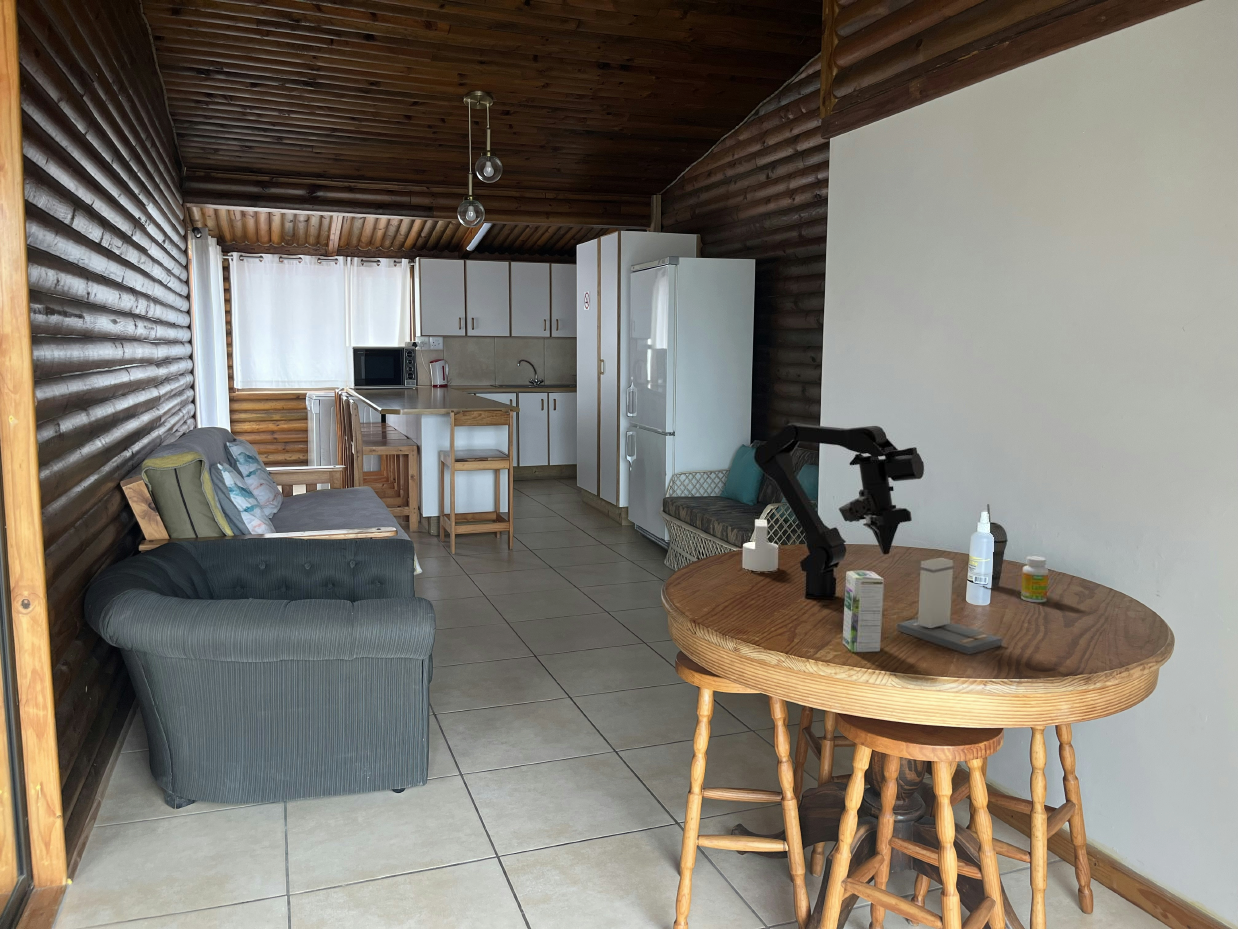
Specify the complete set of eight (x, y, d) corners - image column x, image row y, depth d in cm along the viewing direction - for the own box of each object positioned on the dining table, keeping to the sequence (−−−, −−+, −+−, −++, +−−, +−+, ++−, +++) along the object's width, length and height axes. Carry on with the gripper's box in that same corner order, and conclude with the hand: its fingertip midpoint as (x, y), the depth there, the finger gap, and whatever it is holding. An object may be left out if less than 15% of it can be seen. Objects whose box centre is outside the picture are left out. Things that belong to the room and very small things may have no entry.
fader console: (897, 630, 185) (897, 623, 184) (929, 622, 190) (929, 615, 190) (968, 654, 170) (969, 646, 170) (1001, 645, 176) (1002, 637, 176)
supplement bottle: (1030, 603, 204) (1033, 561, 203) (1015, 596, 210) (1018, 555, 208) (1051, 602, 205) (1054, 560, 204) (1036, 595, 211) (1039, 554, 209)
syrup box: (841, 643, 177) (844, 570, 175) (871, 642, 177) (874, 570, 175) (851, 653, 171) (854, 578, 169) (881, 652, 172) (885, 577, 170)
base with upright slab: (742, 563, 240) (743, 518, 239) (777, 564, 239) (778, 520, 237) (742, 571, 232) (743, 525, 230) (778, 573, 230) (779, 526, 229)
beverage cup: (1007, 590, 215) (1013, 507, 212) (975, 589, 216) (980, 506, 213) (1001, 582, 222) (1006, 502, 219) (969, 581, 223) (974, 501, 220)
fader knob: (917, 624, 183) (920, 561, 181) (937, 619, 186) (940, 557, 184) (930, 628, 180) (933, 564, 178) (950, 623, 183) (953, 560, 181)
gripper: (825, 488, 206) (835, 556, 206) (856, 489, 188) (867, 564, 188) (872, 481, 207) (882, 548, 208) (907, 481, 189) (918, 555, 189)
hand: (885, 554), depth 198 cm, fingers closed
